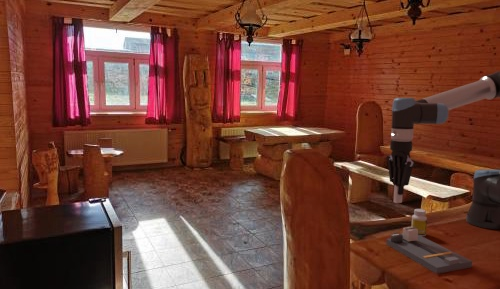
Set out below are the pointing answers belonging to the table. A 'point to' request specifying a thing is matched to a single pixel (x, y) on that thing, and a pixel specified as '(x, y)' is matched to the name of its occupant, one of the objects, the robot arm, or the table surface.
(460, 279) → the table surface
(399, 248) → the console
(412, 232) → the fader knob
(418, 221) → the supplement bottle
